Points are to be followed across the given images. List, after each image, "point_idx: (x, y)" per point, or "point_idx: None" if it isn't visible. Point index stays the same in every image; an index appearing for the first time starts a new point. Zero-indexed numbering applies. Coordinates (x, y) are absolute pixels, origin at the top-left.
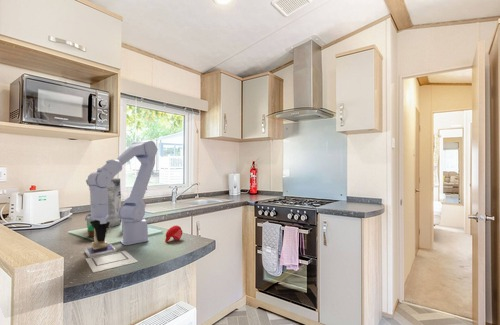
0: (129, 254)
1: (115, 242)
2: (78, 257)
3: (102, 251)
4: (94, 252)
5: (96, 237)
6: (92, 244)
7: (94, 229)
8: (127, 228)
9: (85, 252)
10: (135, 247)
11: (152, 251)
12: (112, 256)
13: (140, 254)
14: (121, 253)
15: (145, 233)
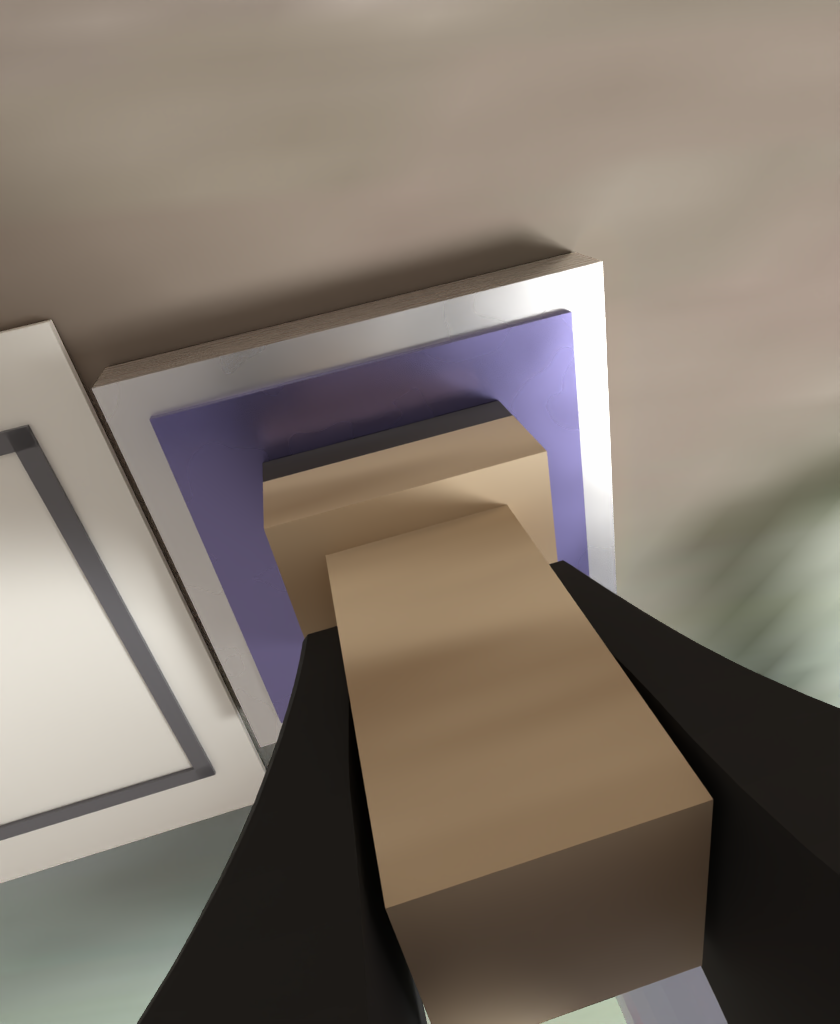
0: (41, 867)
1: (801, 624)
2: (262, 158)
3: (222, 590)
4: (193, 480)
5: (351, 672)
6: (429, 470)
7: (550, 794)
8: (693, 1009)
9: (511, 270)
10: None
11: (109, 1010)
12: (23, 707)
13: (28, 944)
14: (143, 781)
15: (617, 999)
